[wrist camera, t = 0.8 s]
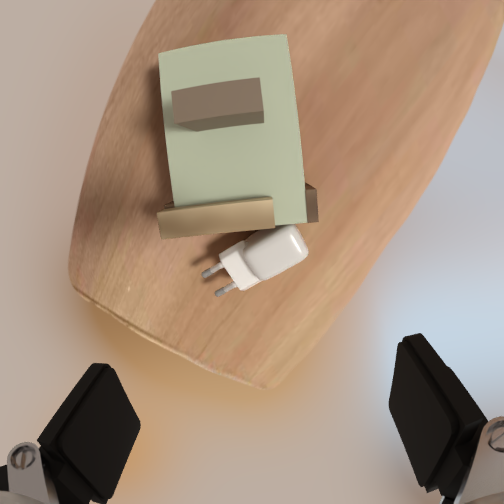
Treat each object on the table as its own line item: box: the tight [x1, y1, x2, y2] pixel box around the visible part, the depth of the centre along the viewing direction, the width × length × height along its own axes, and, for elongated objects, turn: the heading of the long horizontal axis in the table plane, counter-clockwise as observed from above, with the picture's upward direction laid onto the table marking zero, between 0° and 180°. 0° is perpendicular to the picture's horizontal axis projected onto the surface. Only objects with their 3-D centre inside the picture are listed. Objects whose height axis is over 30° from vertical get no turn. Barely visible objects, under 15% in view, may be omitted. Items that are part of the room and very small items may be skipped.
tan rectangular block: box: [157, 197, 275, 240], centre depth 26 cm, size 2×10×2 cm, turn 96°
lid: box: [158, 34, 308, 225], centre depth 22 cm, size 18×12×8 cm, turn 6°
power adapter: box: [202, 224, 308, 297], centre depth 32 cm, size 11×5×6 cm, turn 121°
